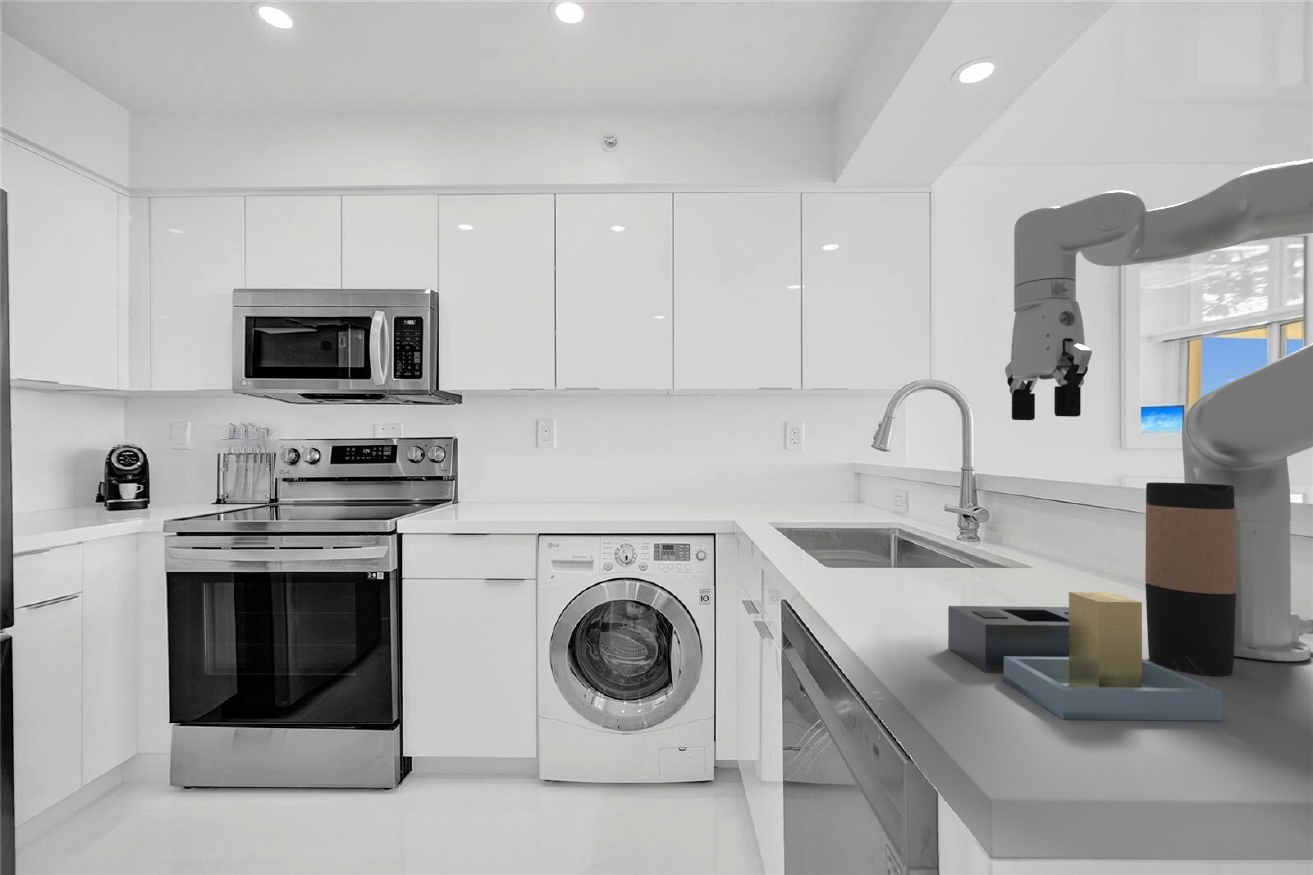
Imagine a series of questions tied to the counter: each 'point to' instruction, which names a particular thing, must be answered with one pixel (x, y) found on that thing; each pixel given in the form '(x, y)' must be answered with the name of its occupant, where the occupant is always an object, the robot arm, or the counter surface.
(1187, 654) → the travel mug
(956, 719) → the counter surface
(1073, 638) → the brushed brass bar
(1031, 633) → the grey slotted block
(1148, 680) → the parts tray
